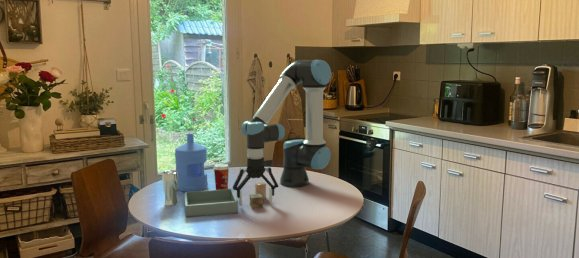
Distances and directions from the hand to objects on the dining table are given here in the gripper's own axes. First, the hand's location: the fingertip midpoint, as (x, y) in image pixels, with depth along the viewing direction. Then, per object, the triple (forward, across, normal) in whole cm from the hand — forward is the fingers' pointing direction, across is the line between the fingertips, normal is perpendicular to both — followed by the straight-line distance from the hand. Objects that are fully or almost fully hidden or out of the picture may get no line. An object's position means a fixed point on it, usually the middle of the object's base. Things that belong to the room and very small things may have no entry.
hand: (255, 203), depth 199 cm
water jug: (+2, +27, -36) cm, 45 cm away
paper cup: (+2, +13, -24) cm, 27 cm away
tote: (+2, +20, -4) cm, 20 cm away
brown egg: (+1, -4, -11) cm, 12 cm away
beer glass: (+2, +37, -13) cm, 39 cm away
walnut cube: (+1, 0, 0) cm, 1 cm away
